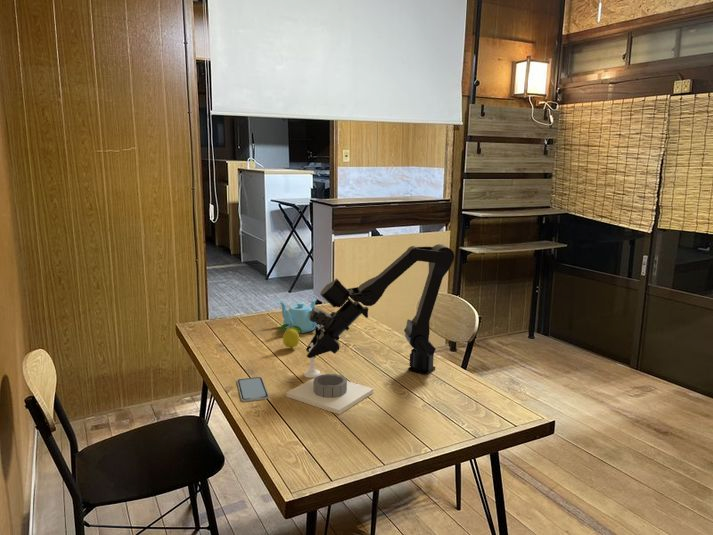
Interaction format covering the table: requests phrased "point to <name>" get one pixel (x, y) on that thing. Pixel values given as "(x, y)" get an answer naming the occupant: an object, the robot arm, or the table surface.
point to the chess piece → (311, 367)
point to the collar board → (330, 402)
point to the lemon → (291, 335)
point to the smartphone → (252, 389)
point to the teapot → (299, 316)
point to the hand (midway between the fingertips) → (307, 354)
